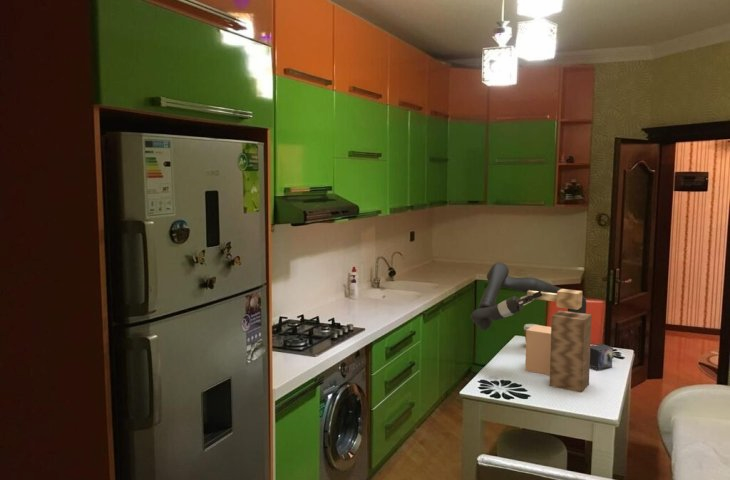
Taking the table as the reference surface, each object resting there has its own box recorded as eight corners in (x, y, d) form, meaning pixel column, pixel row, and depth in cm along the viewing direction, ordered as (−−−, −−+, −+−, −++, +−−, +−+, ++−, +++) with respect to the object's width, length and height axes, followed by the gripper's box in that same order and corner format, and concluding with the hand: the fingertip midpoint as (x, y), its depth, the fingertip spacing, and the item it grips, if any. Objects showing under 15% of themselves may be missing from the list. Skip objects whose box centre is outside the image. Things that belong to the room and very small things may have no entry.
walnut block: (549, 386, 256) (551, 315, 253) (557, 378, 266) (559, 310, 263) (581, 392, 249) (584, 320, 245) (588, 384, 258) (591, 314, 255)
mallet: (525, 302, 262) (525, 287, 261) (530, 300, 267) (531, 285, 267) (577, 309, 249) (578, 293, 248) (581, 306, 254) (582, 291, 254)
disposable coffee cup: (526, 343, 321) (527, 322, 320) (543, 346, 316) (544, 325, 314) (520, 348, 313) (521, 326, 312) (537, 351, 308) (538, 329, 307)
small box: (597, 371, 275) (598, 350, 274) (586, 367, 281) (587, 346, 280) (612, 368, 280) (613, 347, 279) (601, 364, 286) (602, 343, 285)
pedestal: (525, 370, 277) (526, 330, 275) (533, 363, 287) (534, 324, 285) (554, 376, 269) (555, 334, 267) (561, 369, 279) (563, 328, 277)
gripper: (500, 302, 265) (533, 287, 255) (511, 296, 276) (543, 282, 267) (508, 317, 263) (541, 302, 254) (519, 311, 275) (551, 297, 265)
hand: (542, 292), depth 260 cm, fingers closed on mallet, 3 cm apart
